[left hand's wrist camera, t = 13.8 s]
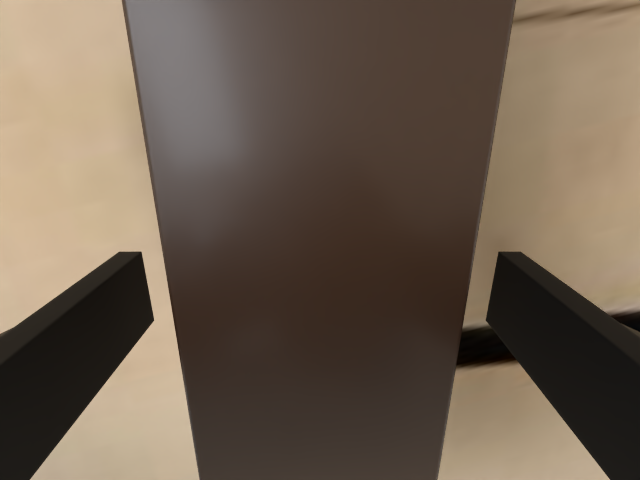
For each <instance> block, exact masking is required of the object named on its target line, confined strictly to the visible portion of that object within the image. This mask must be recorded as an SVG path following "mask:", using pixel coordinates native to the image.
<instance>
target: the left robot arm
mask: <svg viewBox="0 0 640 480" xmlns="http://www.w3.org/2000/svg"><path fill="white" fill-rule="evenodd" d="M153 321H154V317H153V311H152V306H151V301H150V295H149V290H148V284H147V279H146V274H145V268H144V263H143V258H142V252H118V253H117V254H116V255H114V256H113V257H111V258H110V259H109V260H107V261H106V262H104V263H103V264H102V265H100V266H99V267H97V268H96V269H95V270H93V271H92V272H91V273H89V274H88V275H86V276H85V277H84V278H82V279H81V280H79V281H78V282H77V283H75V284H74V285H72V286H71V287H70V288H68V289H67V290H65V291H64V292H63V293H61V294H60V295H58V296H57V297H56V298H54V299H53V300H52V301H50V302H49V303H47V304H46V305H45V306H43V307H42V308H40V309H39V310H38V311H36V312H35V313H33V314H32V315H31V316H29V317H28V318H26V319H25V320H24V321H22V322H21V323H19V324H18V325H17V326H15V327H14V328H12V329H10V330H8V331H5V332H3V333H1V334H0V480H30V479H31V477H32V476H33V475H34V474H35V472H36V471H37V470H38V468H39V467H40V466H41V465H42V463H43V462H44V461H45V459H46V458H47V457H48V456H49V454H50V453H51V452H52V450H53V449H54V448H55V447H56V445H57V444H58V443H59V442H60V440H61V439H62V438H63V436H64V435H65V434H66V433H67V431H68V430H69V429H70V427H71V426H72V425H73V424H74V422H75V421H76V420H77V418H78V417H79V416H80V415H81V413H82V412H83V411H84V409H85V408H86V407H87V406H88V404H89V403H90V402H91V401H92V399H93V398H94V397H95V395H96V394H97V393H98V392H99V390H100V389H101V388H102V386H103V385H104V384H105V383H106V381H107V380H108V379H109V377H110V376H111V375H112V374H113V372H114V371H115V370H116V368H117V367H118V366H119V365H120V363H121V362H122V361H123V360H124V358H125V357H126V356H127V354H128V353H129V352H130V351H131V349H132V348H133V347H134V345H135V344H136V343H137V342H138V340H139V339H140V338H141V336H142V335H143V334H144V333H145V331H146V330H147V329H148V327H149V326H150V325H151V324H152V322H153ZM486 321H487V322H488V324H489V325H490V326H491V327H492V329H493V330H494V331H495V333H496V334H497V335H498V336H499V338H500V339H501V340H502V342H503V343H504V344H505V345H506V347H507V348H508V349H509V351H510V352H511V353H512V354H513V356H514V357H515V358H516V360H517V361H518V362H519V363H520V365H521V366H522V367H523V368H524V370H525V371H526V372H527V374H528V375H529V376H530V377H531V379H532V380H533V381H534V383H535V384H536V385H537V386H538V388H539V389H540V390H541V392H542V393H543V394H544V395H545V397H546V398H547V399H548V401H549V402H550V403H551V404H552V406H553V407H554V408H555V409H556V411H557V412H558V413H559V415H560V416H561V417H562V418H563V420H564V421H565V422H566V424H567V425H568V426H569V427H570V429H571V430H572V431H573V433H574V434H575V435H576V436H577V438H578V439H579V440H580V442H581V443H582V444H583V445H584V447H585V448H586V449H587V450H588V452H589V453H590V454H591V456H592V457H593V458H594V459H595V461H596V462H597V463H598V465H599V466H600V467H601V468H602V470H603V471H604V472H605V474H606V475H607V476H608V477H609V479H610V480H640V332H638V331H636V330H634V329H632V328H629V327H627V326H625V325H623V324H621V323H619V322H618V321H616V320H615V319H614V318H612V317H611V316H609V315H608V314H607V313H605V312H604V311H602V310H601V309H600V308H598V307H597V306H595V305H594V304H593V303H591V302H590V301H588V300H587V299H586V298H584V297H583V296H582V295H580V294H579V293H577V292H576V291H575V290H573V289H572V288H570V287H569V286H568V285H566V284H565V283H563V282H562V281H561V280H559V279H558V278H556V277H555V276H554V275H552V274H551V273H549V272H548V271H547V270H545V269H544V268H543V267H541V266H540V265H538V264H537V263H536V262H534V261H533V260H531V259H530V258H529V257H527V256H526V255H524V254H523V253H522V252H498V258H497V263H496V268H495V274H494V279H493V285H492V290H491V295H490V301H489V306H488V311H487V317H486Z"/></svg>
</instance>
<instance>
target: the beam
mask: <svg viewBox="0 0 640 480" xmlns="http://www.w3.org/2000/svg"><path fill="white" fill-rule="evenodd" d="M515 3H516V0H122V4H123V10H124V16H125V23H126V29H127V35H128V41H129V47H130V53H131V60H132V66H133V72H134V78H135V84H136V90H137V97H138V103H139V109H140V115H141V121H142V127H143V134H144V140H145V146H146V152H147V158H148V164H149V171H150V177H151V183H152V189H153V195H154V201H155V207H156V214H157V220H158V226H159V232H160V238H161V244H162V251H163V257H164V263H165V269H166V275H167V281H168V288H169V294H170V300H171V306H172V312H173V318H174V325H175V331H176V337H177V343H178V349H179V355H180V362H181V368H182V374H183V380H184V386H185V392H186V399H187V405H188V411H189V417H190V423H191V429H192V435H193V442H194V448H195V454H196V460H197V466H198V472H199V479H200V480H437V479H438V473H439V467H440V461H441V455H442V448H443V442H444V436H445V430H446V424H447V418H448V412H449V406H450V400H451V394H452V387H453V381H454V375H455V369H456V363H457V357H458V351H459V345H460V339H461V333H462V326H463V320H464V314H465V308H466V302H467V296H468V290H469V284H470V278H471V272H472V265H473V259H474V253H475V247H476V241H477V235H478V229H479V223H480V217H481V211H482V204H483V198H484V192H485V186H486V180H487V174H488V168H489V162H490V156H491V149H492V143H493V137H494V131H495V125H496V119H497V113H498V107H499V101H500V95H501V88H502V82H503V76H504V70H505V64H506V58H507V52H508V46H509V40H510V34H511V27H512V21H513V15H514V9H515Z"/></svg>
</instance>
